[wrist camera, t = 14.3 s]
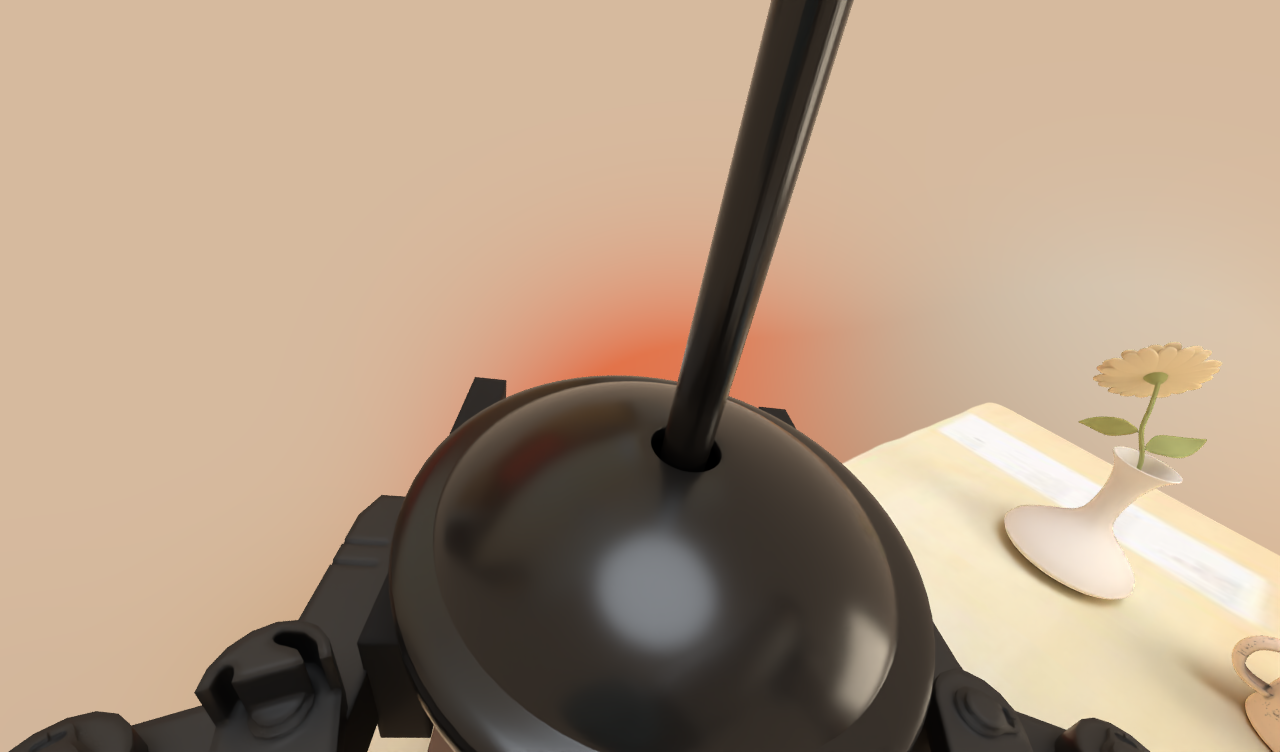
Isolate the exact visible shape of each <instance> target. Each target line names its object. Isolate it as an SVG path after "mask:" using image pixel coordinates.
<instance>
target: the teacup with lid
mask: <svg viewBox="0 0 1280 752" xmlns="http://www.w3.org/2000/svg"><path fill="white" fill-rule="evenodd" d="M1259 650H1270V651H1276V652H1280V639H1278V638H1273V637H1268V636H1250V637H1247V638H1244V639H1242V640H1241V641H1239V642H1238V643H1237V644H1236V645H1235V647H1234V649H1233V651H1232V663H1233V666H1234V669H1235V671H1236V673H1237V674H1238V675H1239V677H1240V678H1241V679H1242V680H1243V681H1244V682H1245V683H1246V684H1248V685H1249V686H1250V687H1251V688H1253V689H1254V690H1256V691H1257V692H1255V693H1253V694H1252V695H1250V696H1249V697H1248V698H1247V699H1246V702H1245V709H1246V713H1247V716H1248V718H1249V720H1250V722H1251V724H1252V725H1253V727H1254V729H1255V730H1256V731H1257V733H1258V734H1259V736H1260V737H1261V738H1262V739H1263V741H1264V742H1265V743H1266V744H1267V745H1268V746H1269V747H1270V749H1271V750H1272V751H1273V752H1280V678H1278V679H1276V680H1275V681H1273V682H1272V683H1270V684H1267V683H1265V682H1264V681H1262V680H1261V679H1259V678H1258V677H1257V676H1255V675H1254V674H1253V673H1252V672H1251V671H1250V670H1249V669H1248V668H1247V666H1246V664H1245V662H1246V659H1247V657H1248V656H1249V655H1250V654H1252V653H1253V652H1255V651H1259Z"/></svg>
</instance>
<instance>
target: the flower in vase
mask: <svg viewBox="0 0 1280 752" xmlns="http://www.w3.org/2000/svg"><path fill="white" fill-rule="evenodd" d="M1181 348H1182V345H1181V344H1180V343H1179V342H1171V343H1168V344H1166V345H1165V346H1164V347H1163V346H1161V345H1151V346H1149V347H1148V348H1143V349H1140V350H1139V351H1135V350H1125V351H1124V352H1122V353H1121V356H1122V358H1123V359H1121V358H1112V359H1109V360H1105V361H1104V362H1103V365H1099V366H1098V367H1097V369H1098V370H1099V371H1100V372H1101V373H1103V374H1099V375H1097V376H1094V377H1093V380H1095V381H1097V382H1099V383H1098V385H1099V386H1102V387H1111V388H1110V389H1108V391H1109V392H1111V393H1116V394H1120V395H1121V396H1133V395H1135V396H1136V397H1140V398H1141V397H1148V396H1152V397H1151V400H1150V403H1149V406H1148V408H1147V411H1146V413H1145V415H1144V417H1143V420H1142V422H1141V424H1140V428H1139V451H1138V450H1135V449H1132V448H1128V447H1123V446H1116V447H1114V448H1113V454H1114V466H1113V470H1112V472H1111V475H1110V477H1109V479H1108V480H1107V482H1106V483H1105V485H1104V486H1103V488H1102V489H1101V490H1100V491H1099V493H1098V494H1097V495H1096V496H1095V497H1094V498H1093V499H1092V500H1091V501H1090V502H1089V503H1087V504H1086V505H1084V506H1082V507H1079V508H1072V509H1071V508H1060V507H1052V506H1042V505H1025V506H1019V507H1016V508H1014V509H1012V510H1010V511H1008V512H1007V513H1006V515H1005V519H1004V521H1005V528H1006V532H1007V534H1008V536H1009V538H1010V540H1011V541H1012V543H1013V544H1014V545H1015V546H1016V548H1017V549H1018V550H1019V551H1020V552H1021V553H1022V554H1023V555H1024V556H1025V557H1026V558H1027V559H1028V560H1029V561H1030V562H1031V563H1033V564H1034V565H1035V566H1036V567H1038V568H1039V569H1040V570H1042V571H1043V572H1044V573H1046V574H1047V575H1049V576H1050V577H1052V578H1054V579H1055V580H1057V581H1058V582H1060V583H1062V584H1064V585H1066V586H1068V587H1070V588H1072V589H1074V590H1076V591H1078V592H1081V593H1083V594H1086V595H1089V596H1092V597H1096V598H1102V599H1123V598H1126V597H1129V596H1130V595H1131V594H1132V592H1133V589H1134V585H1135V576H1134V573H1133V570H1132V567H1131V565H1130V562H1129V560H1128V559H1127V557H1126V555H1125V553H1124V551H1123V550H1122V548H1121V546H1120V545H1119V543H1118V541H1117V539H1116V537H1115V535H1114V533H1113V524H1114V522H1115V520H1116V518H1117V517H1118V516H1119V515H1120V514H1121V513H1122V511H1123V510H1125V509H1126V508H1127V507H1128V506H1129V505H1130V504H1131V503H1132V502H1134V501H1135V500H1136V499H1138V498H1139V497H1140V496H1142V495H1144V494H1146V493H1147V492H1149V491H1151V490H1153V489H1156V488H1158V487H1162V486H1166V485H1172V484H1178V483H1181V482H1182V477H1181V476H1180V475H1179V474H1178V473H1177V472H1176V471H1175V470H1174V469H1173V468H1171V467H1170V466H1168V465H1167V464H1165V463H1163V462H1162V461H1160V460H1158V459H1156V458H1154V457H1152V456H1150V455H1148V454H1146V453H1145V450H1147V451H1149V452H1151V453H1154V454H1158V455H1163V456H1168V457H1172V458H1184V457H1187V456H1190V455H1192V454H1194V453H1195V452H1197V451H1198V450H1199V449H1200V448H1201V447H1202V446H1203V445H1204V444H1205V442H1206V441H1207V440H1206V439H1194V438H1183V437H1175V436H1166V435H1159V436H1155V437H1153V438H1152V439H1151V440H1150V441H1149V442H1148V443H1147V444H1146V446H1145V448H1146V449H1145V448H1144V429H1145V425H1146V423H1147V420H1148V418H1149V416H1150V414H1151V412H1152V409H1153V406H1154V404H1155V401H1156V398H1163V397H1168V396H1170V395H1171V394H1180V393H1184V392H1186V391H1187V390H1196V389H1199V388H1201V387H1202V385H1200V384H1201V383H1204V382H1206V381H1210V380H1211V379H1213V376H1211V375H1212V374H1215V373H1217V372H1219V371H1220V369H1219V368H1218V367H1220V366H1221V365H1222V362H1220V361H1217V360H1207V361H1204V360H1206V358H1208V357H1209V356H1210V355H1211V354H1212V351H1210V350H1203V347H1201V346H1191V347H1189V348H1184V349H1181ZM1079 423H1082V424H1084V425H1086V426H1089V427H1090V428H1092V429H1094V430H1096V431H1098V432H1100V433H1103V434H1105V435H1110V436H1117V435H1118V436H1119V435H1127V434H1133V433H1136V432H1138V429H1137V428H1136V427H1135V426H1133V425H1132V424H1131V423H1129V422H1128V421H1126V420H1124V419H1120V418H1115V417H1093V418H1088V419H1084V420H1081V421H1079Z"/></svg>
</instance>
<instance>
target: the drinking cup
mask: <svg viewBox="0 0 1280 752" xmlns="http://www.w3.org/2000/svg"><path fill="white" fill-rule="evenodd" d="M852 4H853V0H771V3H770V8H769V12H768V16H767V20H766V24H765V28H764V32H763V36H762V40H761V44H760V48H759V52H758V56H757V61H756V65H755V69H754V73H753V77H752V81H751V85H750V89H749V93H748V97H747V101H746V105H745V110H744V114H743V118H742V122H741V126H740V130H739V134H738V138H737V142H736V146H735V150H734V154H733V158H732V162H731V166H730V171H729V174H728V178H727V183H726V187H725V191H724V195H723V199H722V203H721V207H720V212H719V215H718V219H717V224H716V227H715V231H714V235H713V240H712V244H711V248H710V252H709V256H708V260H707V264H706V268H705V272H704V276H703V280H702V284H701V288H700V293H699V296H698V301H697V305H696V309H695V313H694V317H693V321H692V325H691V329H690V333H689V337H688V341H687V345H686V349H685V354H684V358H683V362H682V366H681V370H680V374H679V378H678V382H676V381H671V380H665V379H658V378H649V377H639V376H591V377H582V378H574V379H568V380H562V381H557V382H552V383H548V384H544V385H541V386H537V387H534V388H530V389H528V390H524V391H522V392H519V393H517V394H514V395H512V396H509V397H507V398H505V399H503V400H500V401H498V402H496V403H494V404H493V405H491V406H489V407H487V408H485V409H484V410H482V411H480V412H479V413H477V414H476V415H474V416H473V417H471V418H470V419H468V420H467V421H466V422H464V423H463V424H462V425H461V426H460V427H458V428H457V429H456V430H455V431H453V432H452V433H451V434H450V435H449V436H448V437H447V438H446V439H445V440H444V441H443V442H442V443H441V444H440V445H439V446H438V447H437V449H436V450H435V451H434V452H433V453H432V455H431V456H430V457H429V458H428V459H427V461H426V462H425V464H424V465H423V467H422V468H421V470H420V471H419V473H418V474H417V476H416V478H415V479H414V481H413V483H412V485H411V487H410V489H409V491H408V493H407V495H406V497H405V499H404V501H403V503H402V506H401V509H400V512H399V515H398V517H397V520H396V524H395V528H394V533H393V537H392V541H391V547H390V557H389V567H388V579H389V600H390V608H391V613H392V619H393V625H394V631H395V636H396V640H397V644H398V647H399V650H400V653H401V657H402V660H403V663H404V667H405V670H406V672H407V675H408V677H409V680H410V682H411V684H412V686H413V688H414V690H415V693H416V695H417V697H418V699H419V701H420V703H421V705H422V707H423V708H424V710H425V712H426V713H427V715H428V716H429V718H430V720H431V721H432V723H433V725H434V726H435V728H436V730H437V731H438V732H439V733H440V735H441V737H442V738H443V739H444V740H445V741H446V743H447V744H448V745H449V746H450V747H451V749H452V750H453V751H454V752H911V751H912V749H913V747H914V745H915V743H916V740H917V738H918V736H919V734H920V732H921V730H922V727H923V725H924V722H925V718H926V715H927V711H928V708H929V705H930V701H931V696H932V689H933V682H934V673H935V637H934V628H933V620H932V614H931V610H930V606H929V601H928V597H927V593H926V590H925V587H924V584H923V581H922V578H921V575H920V573H919V570H918V568H917V566H916V564H915V561H914V559H913V557H912V554H911V552H910V550H909V549H908V547H907V545H906V543H905V541H904V539H903V538H902V536H901V534H900V532H899V531H898V529H897V528H896V526H895V525H894V523H893V522H892V520H891V519H890V517H889V516H888V514H887V513H886V512H885V510H884V509H883V508H882V506H881V505H880V504H879V502H878V501H877V500H876V499H875V497H874V496H873V495H872V494H871V493H870V492H869V491H868V489H867V488H866V487H865V486H864V485H863V484H862V483H861V482H860V481H859V480H858V479H857V478H856V477H855V476H854V475H853V474H852V473H851V472H850V471H849V470H848V469H847V468H846V467H845V466H844V465H843V464H842V463H840V462H839V461H838V460H837V459H836V458H835V457H834V456H832V455H831V454H830V453H829V452H827V451H826V450H825V449H824V448H822V447H821V446H820V445H818V444H817V443H816V442H814V441H813V440H811V439H810V438H809V437H807V436H806V435H804V434H803V433H801V432H800V431H798V430H797V429H795V428H793V427H792V426H790V425H788V424H787V423H785V422H783V421H781V420H780V419H778V418H776V417H774V416H772V415H771V414H769V413H767V412H764V411H762V410H761V409H759V408H756V407H754V406H752V405H749V404H747V403H745V402H743V401H740V400H738V399H735V398H732V397H730V396H728V395H729V392H730V388H731V386H732V382H733V379H734V376H735V373H736V370H737V367H738V364H739V360H740V357H741V354H742V350H743V348H744V345H745V341H746V338H747V335H748V332H749V329H750V326H751V323H752V319H753V316H754V313H755V310H756V307H757V304H758V300H759V297H760V294H761V291H762V288H763V285H764V281H765V278H766V275H767V272H768V269H769V266H770V262H771V259H772V256H773V253H774V250H775V247H776V243H777V240H778V237H779V234H780V231H781V228H782V225H783V221H784V218H785V215H786V212H787V209H788V206H789V203H790V199H791V196H792V193H793V190H794V187H795V184H796V181H797V177H798V174H799V171H800V168H801V165H802V161H803V158H804V155H805V152H806V149H807V145H808V143H809V140H810V136H811V133H812V130H813V127H814V123H815V121H816V117H817V114H818V111H819V108H820V105H821V102H822V98H823V95H824V92H825V89H826V86H827V83H828V80H829V76H830V73H831V70H832V67H833V64H834V61H835V57H836V54H837V51H838V48H839V45H840V42H841V38H842V35H843V32H844V29H845V26H846V23H847V20H848V16H849V13H850V10H851V7H852Z"/></svg>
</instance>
